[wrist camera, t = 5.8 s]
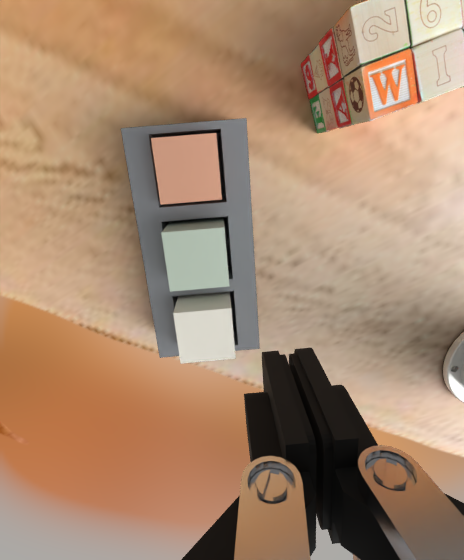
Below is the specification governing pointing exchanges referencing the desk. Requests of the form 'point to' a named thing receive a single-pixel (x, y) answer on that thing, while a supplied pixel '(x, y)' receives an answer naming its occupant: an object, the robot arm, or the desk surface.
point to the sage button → (196, 254)
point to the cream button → (204, 327)
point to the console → (229, 208)
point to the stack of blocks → (385, 60)
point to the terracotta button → (187, 168)
